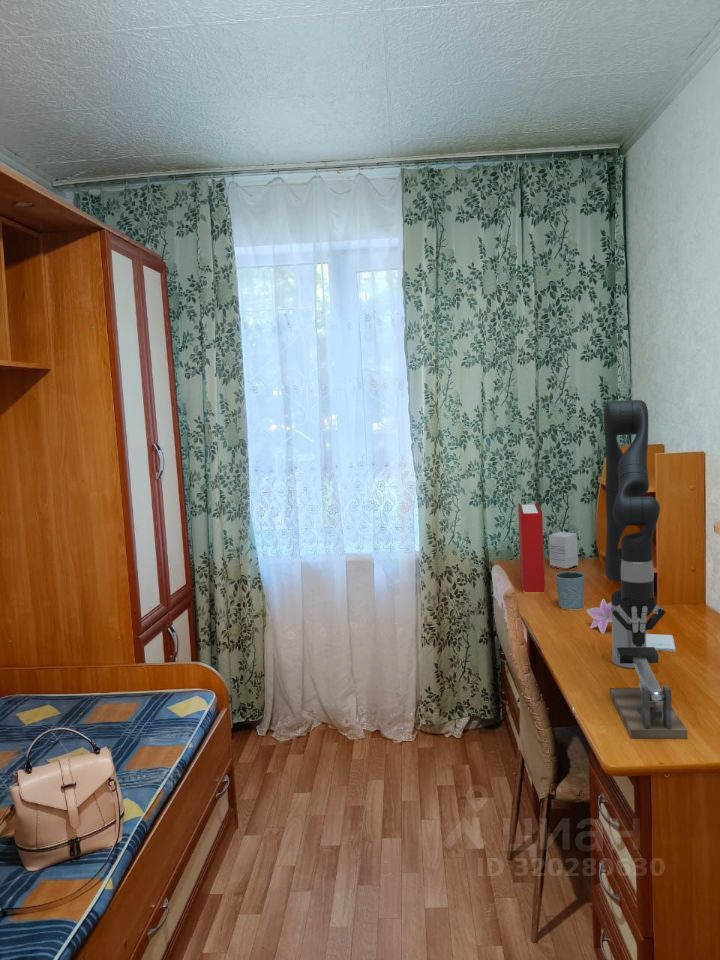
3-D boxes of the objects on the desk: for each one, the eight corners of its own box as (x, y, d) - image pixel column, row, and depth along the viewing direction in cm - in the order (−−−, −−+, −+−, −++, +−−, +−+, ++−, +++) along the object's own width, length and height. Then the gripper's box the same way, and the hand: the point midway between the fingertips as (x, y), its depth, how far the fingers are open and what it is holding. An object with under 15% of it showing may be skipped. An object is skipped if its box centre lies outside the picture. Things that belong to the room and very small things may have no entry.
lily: (587, 625, 249) (577, 604, 246) (620, 611, 248) (611, 590, 244) (599, 647, 239) (590, 625, 235) (634, 632, 237) (625, 610, 233)
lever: (616, 661, 187) (616, 647, 186) (653, 660, 186) (654, 647, 185) (636, 709, 167) (637, 694, 166) (678, 709, 166) (679, 694, 165)
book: (520, 577, 314) (518, 502, 310) (539, 576, 312) (537, 502, 309) (523, 594, 287) (521, 513, 284) (545, 594, 286) (542, 512, 282)
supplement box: (561, 563, 333) (560, 531, 332) (578, 566, 326) (577, 533, 325) (549, 567, 327) (548, 534, 326) (566, 570, 321) (565, 536, 319)
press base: (609, 695, 190) (608, 653, 189) (658, 695, 188) (657, 653, 187) (631, 738, 166) (630, 691, 165) (687, 738, 165) (686, 691, 164)
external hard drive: (672, 640, 229) (675, 653, 218) (644, 638, 232) (646, 652, 220) (672, 635, 229) (675, 648, 217) (644, 633, 232) (645, 647, 220)
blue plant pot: (582, 602, 272) (581, 570, 271) (588, 610, 262) (587, 577, 261) (554, 603, 273) (553, 571, 272) (558, 611, 263) (558, 578, 262)
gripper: (661, 572, 183) (662, 640, 185) (606, 574, 185) (607, 641, 187) (669, 580, 176) (670, 650, 178) (612, 582, 177) (613, 651, 179)
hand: (638, 645), depth 182 cm, fingers closed
